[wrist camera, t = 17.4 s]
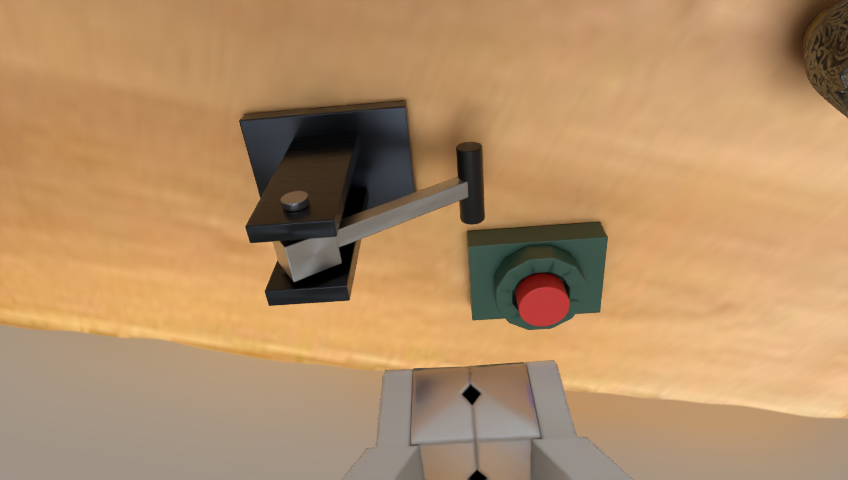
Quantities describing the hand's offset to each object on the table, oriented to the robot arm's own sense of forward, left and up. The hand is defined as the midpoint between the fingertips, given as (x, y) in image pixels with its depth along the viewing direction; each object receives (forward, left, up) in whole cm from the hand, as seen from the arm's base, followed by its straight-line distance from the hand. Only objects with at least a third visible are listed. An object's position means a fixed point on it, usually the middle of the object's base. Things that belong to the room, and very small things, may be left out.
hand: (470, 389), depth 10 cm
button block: (+6, -18, -29) cm, 35 cm away
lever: (-4, -8, -22) cm, 24 cm away
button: (+6, -18, -25) cm, 32 cm away
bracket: (-8, -8, -29) cm, 31 cm away
